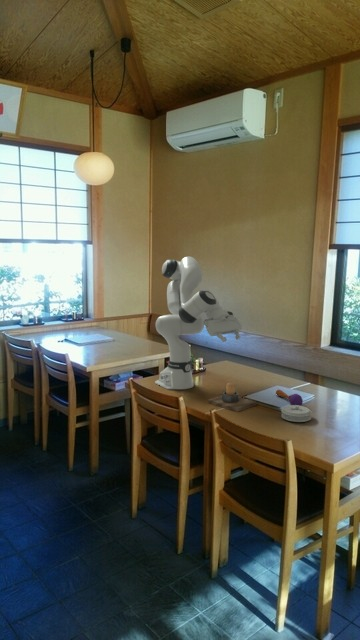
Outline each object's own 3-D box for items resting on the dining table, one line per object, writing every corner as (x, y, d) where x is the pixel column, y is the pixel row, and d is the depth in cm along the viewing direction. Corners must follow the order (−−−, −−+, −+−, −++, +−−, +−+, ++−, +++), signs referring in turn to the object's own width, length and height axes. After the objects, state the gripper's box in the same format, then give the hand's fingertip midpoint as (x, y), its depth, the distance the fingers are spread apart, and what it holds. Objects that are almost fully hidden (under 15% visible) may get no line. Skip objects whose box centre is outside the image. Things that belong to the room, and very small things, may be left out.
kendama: (284, 387, 232) (305, 396, 213) (283, 399, 232) (303, 408, 213) (274, 386, 230) (294, 394, 211) (272, 398, 230) (292, 407, 211)
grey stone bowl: (219, 400, 220) (219, 393, 219) (229, 396, 225) (229, 389, 224) (231, 404, 214) (231, 396, 214) (241, 400, 219) (241, 393, 219)
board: (208, 402, 221) (208, 399, 221) (227, 396, 230) (227, 393, 230) (237, 412, 208) (237, 408, 208) (256, 404, 217) (256, 401, 217)
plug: (224, 400, 220) (224, 384, 219) (230, 398, 222) (230, 382, 221) (230, 402, 217) (231, 385, 216) (236, 400, 220) (236, 384, 218)
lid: (275, 418, 200) (275, 407, 200) (293, 411, 208) (293, 401, 208) (299, 426, 191) (299, 414, 190) (317, 419, 199) (317, 408, 198)
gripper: (205, 315, 220) (219, 338, 214) (235, 311, 233) (249, 333, 227) (199, 323, 225) (213, 346, 218) (229, 319, 237) (242, 341, 231)
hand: (231, 339), depth 223 cm, fingers open, 8 cm apart
